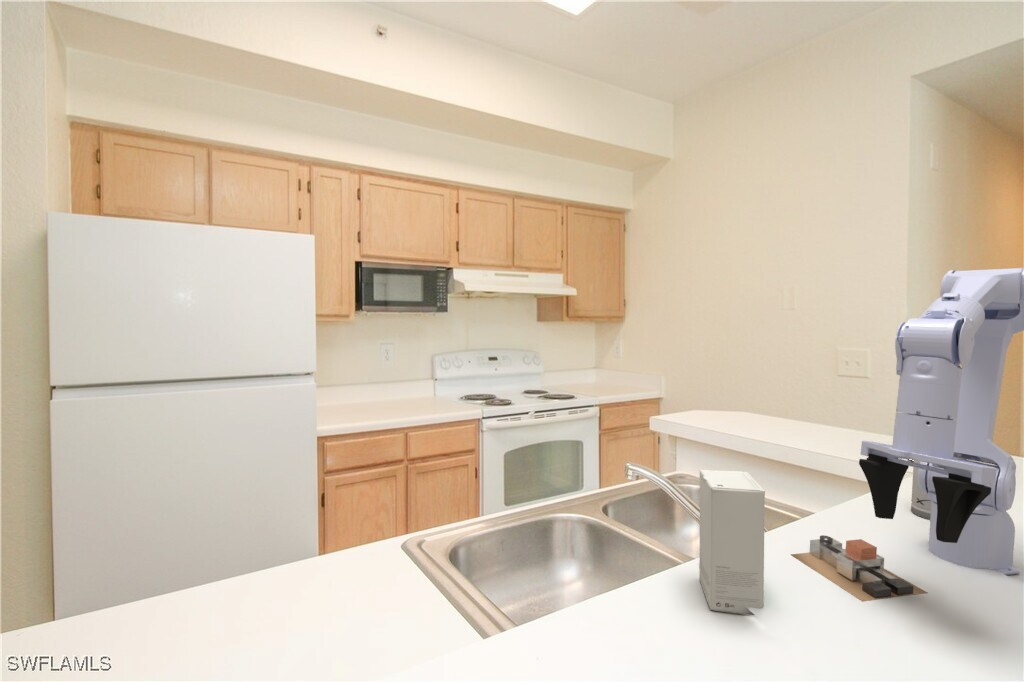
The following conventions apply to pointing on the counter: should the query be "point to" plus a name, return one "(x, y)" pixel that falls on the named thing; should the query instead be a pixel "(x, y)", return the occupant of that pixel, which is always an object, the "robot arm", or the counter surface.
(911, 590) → the sliding bar clamp
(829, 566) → the walnut board
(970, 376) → the robot arm
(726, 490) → the skincare box
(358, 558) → the counter surface
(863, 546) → the collar
